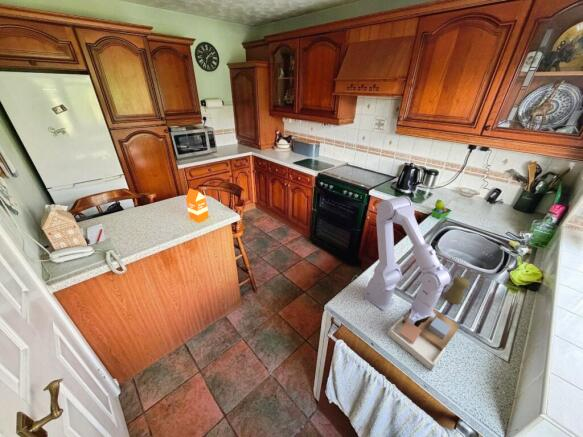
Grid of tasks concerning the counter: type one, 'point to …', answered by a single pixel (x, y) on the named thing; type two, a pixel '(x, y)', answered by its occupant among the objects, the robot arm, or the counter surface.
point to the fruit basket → (440, 210)
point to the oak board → (432, 337)
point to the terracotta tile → (410, 331)
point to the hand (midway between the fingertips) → (414, 325)
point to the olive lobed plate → (457, 290)
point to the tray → (416, 346)
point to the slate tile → (439, 328)
